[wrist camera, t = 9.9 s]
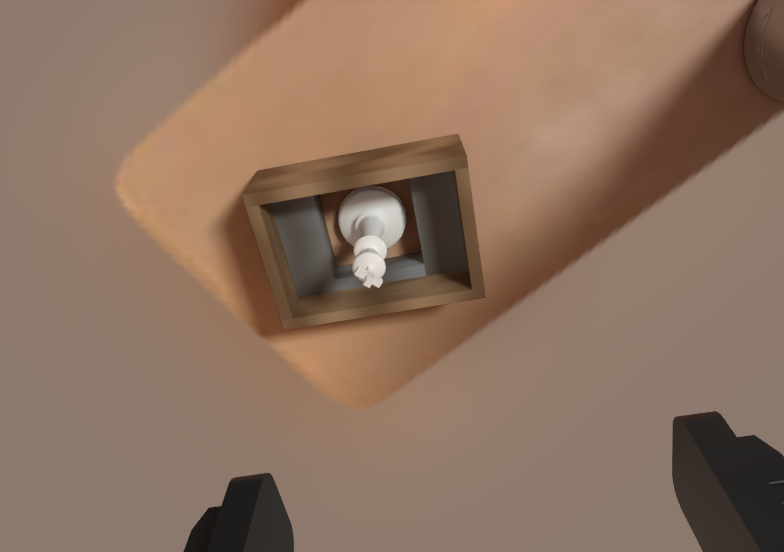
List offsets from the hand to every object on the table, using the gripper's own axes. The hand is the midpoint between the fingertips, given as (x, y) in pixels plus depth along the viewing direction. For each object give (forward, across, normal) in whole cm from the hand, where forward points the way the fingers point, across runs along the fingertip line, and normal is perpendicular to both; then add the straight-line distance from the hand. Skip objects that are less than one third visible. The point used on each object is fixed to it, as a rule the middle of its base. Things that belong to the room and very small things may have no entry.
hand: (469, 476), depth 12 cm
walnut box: (+32, +5, +7) cm, 33 cm away
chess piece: (+32, +5, +7) cm, 33 cm away
